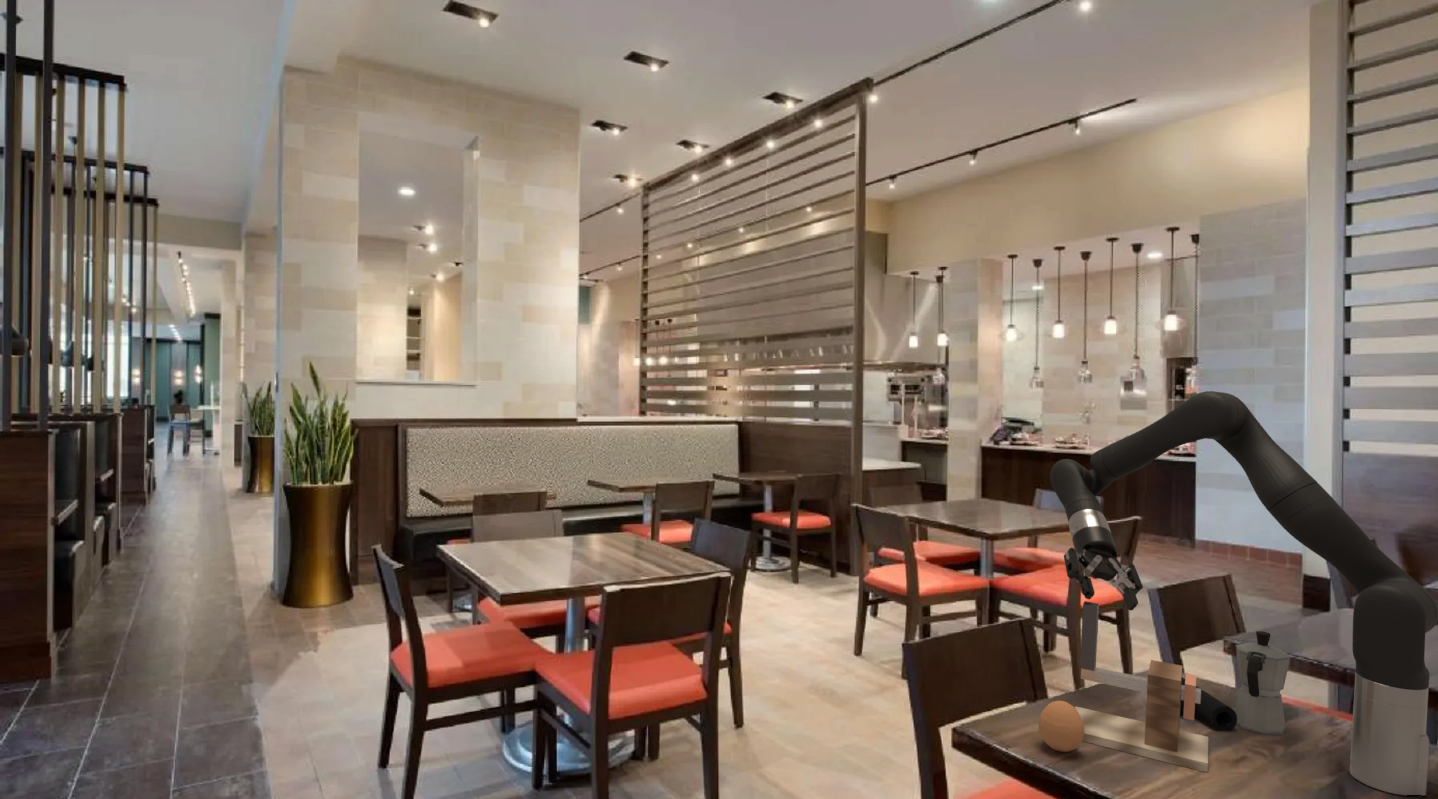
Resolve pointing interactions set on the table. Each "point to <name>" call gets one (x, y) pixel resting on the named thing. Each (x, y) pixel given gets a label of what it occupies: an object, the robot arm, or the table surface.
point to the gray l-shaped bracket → (1104, 675)
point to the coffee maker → (1261, 686)
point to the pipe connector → (1213, 712)
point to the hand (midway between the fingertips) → (1111, 602)
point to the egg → (1061, 726)
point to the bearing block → (1151, 724)
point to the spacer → (1189, 696)
